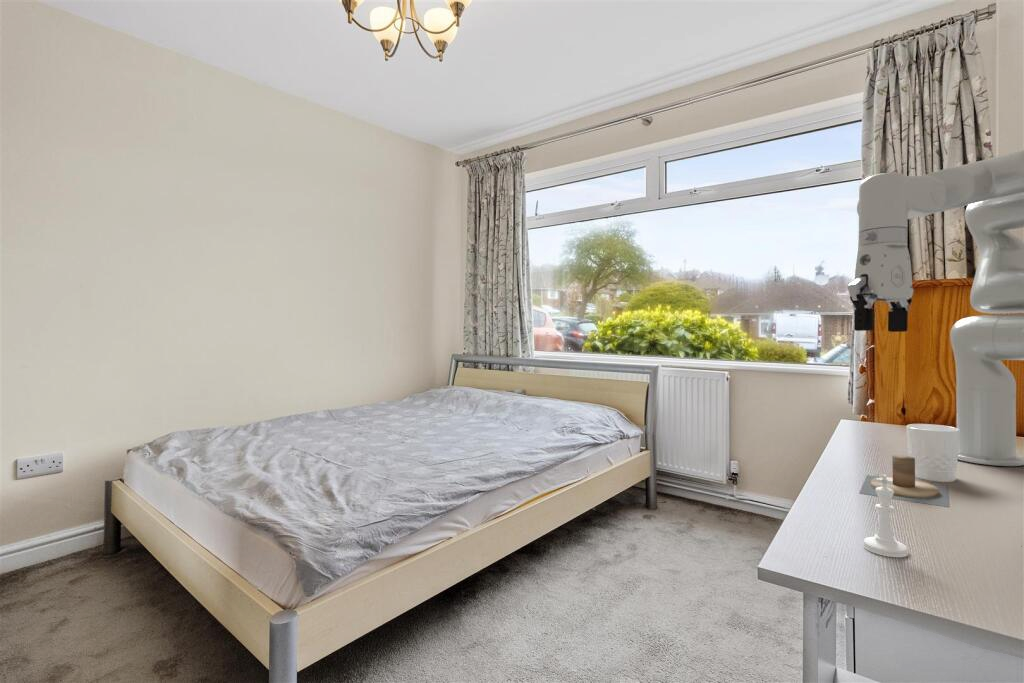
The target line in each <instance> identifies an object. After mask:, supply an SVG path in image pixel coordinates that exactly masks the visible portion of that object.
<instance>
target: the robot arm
mask: <svg viewBox="0 0 1024 683" xmlns="http://www.w3.org/2000/svg"><path fill="white" fill-rule="evenodd" d="M858 188H859V191H858V192H859V193H858V201H857V203H856V204H857V205H856V214H857V215H858V248H857V249H858V250H857V256H856V261H855V262H856V263H855V270H854V271H855V272H854V281H852V282H850V283H849V284H848V285H847V291H848V293H849V299H850V301H851V303H852V306H851V307H852V309H853V310H854V314H853V315H854V318H853V319H854V325H853V328H854V331H855V332H856V331H857V332H859V331H860V332H862V331H865V332H867V331H868V332H870V331H873V330H874V328H875V327H874V326H875V324H874V319H875V318H874V317H875V316H874V314H875V308H872V306H874V303H875V302H886V304H887V305H888V308H889V309H890V311H889V310H888V312H887V313H888V314H887V315H888V316H887V330H888V332H889V333H891V332H893V333H894V332H900V333H901V332H903V333H904V332H907V331H908V327H909V326H908V325H909V324H908V322H909V320H908V319H909V316H908V315H909V313H908V312H909V311H910V308H911V303H912V301H913V300H912V298H913V295H914V292H915V290H914V288H913V275H912V264H911V255H910V252H909V248H908V230H909V229H908V225H909V222H908V221H909V220H911V219H917V218H920V217H921V218H922V217H925V216H928V215H929V216H930V215H933V214H937V213H941V212H942V213H943V212H946V211H950V210H955V209H958V208H962V207H965V206H966V209H965V210H964V219H965V224H966V226H967V228H968V231H969V232H970V234H971V236H972V238H973V240H974V242H975V244H976V246H977V249H978V254H979V257H978V263H977V265H976V266H977V267H976V269H975V274H974V278H973V281H972V286H971V290H970V295H969V300H970V301H969V303H970V306H971V307H972V309H974V310H975V311H976V312H978V313H982V314H983V315H973V316H968V317H964V318H961V319H959V320H958V321H956V322H955V323H954V324H953V325H952V327H951V329H950V335H949V339H950V344H951V348H952V352H953V357H954V363H955V375H956V385H955V386H956V387H955V389H956V392H955V393H956V400H955V401H956V405H955V406H956V428H958V429H959V448H958V459H957V461H963V462H966V463H972V464H977V465H978V464H980V465H986V466H988V465H989V466H996V467H997V466H998V467H1021V466H1024V456H1023V455H1019V454H1017V405H1016V404H1017V397H1016V396H1017V383H1016V382H1017V381H1016V379H1015V376H1014V374H1013V373H1012V372H1011V370H1010V369H1009V368H1008V367H1007V366H1006V365H1005V364H1004V363H1003V361H1006V360H1007V361H1024V240H1022V239H1020V238H1019V237H1017V236H1016V235H1014V234H1013V233H1012V232H1011V231H1010V230H1015V229H1022V228H1024V149H1023V150H1022V149H1021V150H1018V151H1014V152H1009V153H1007V154H1003V155H997V156H995V157H991V158H986V159H983V160H978V161H974V162H970V163H966V164H962V165H957V166H951V167H946V168H943V169H939V170H937V171H936V170H935V171H933V172H929V173H926V174H922V175H906V174H904V173H902V172H884V173H883V172H882V173H878V174H874V175H871V176H868V177H866V178H864V179H863V180H862V181H861V182H860V185H859V187H858ZM984 314H985V315H984Z"/></svg>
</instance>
